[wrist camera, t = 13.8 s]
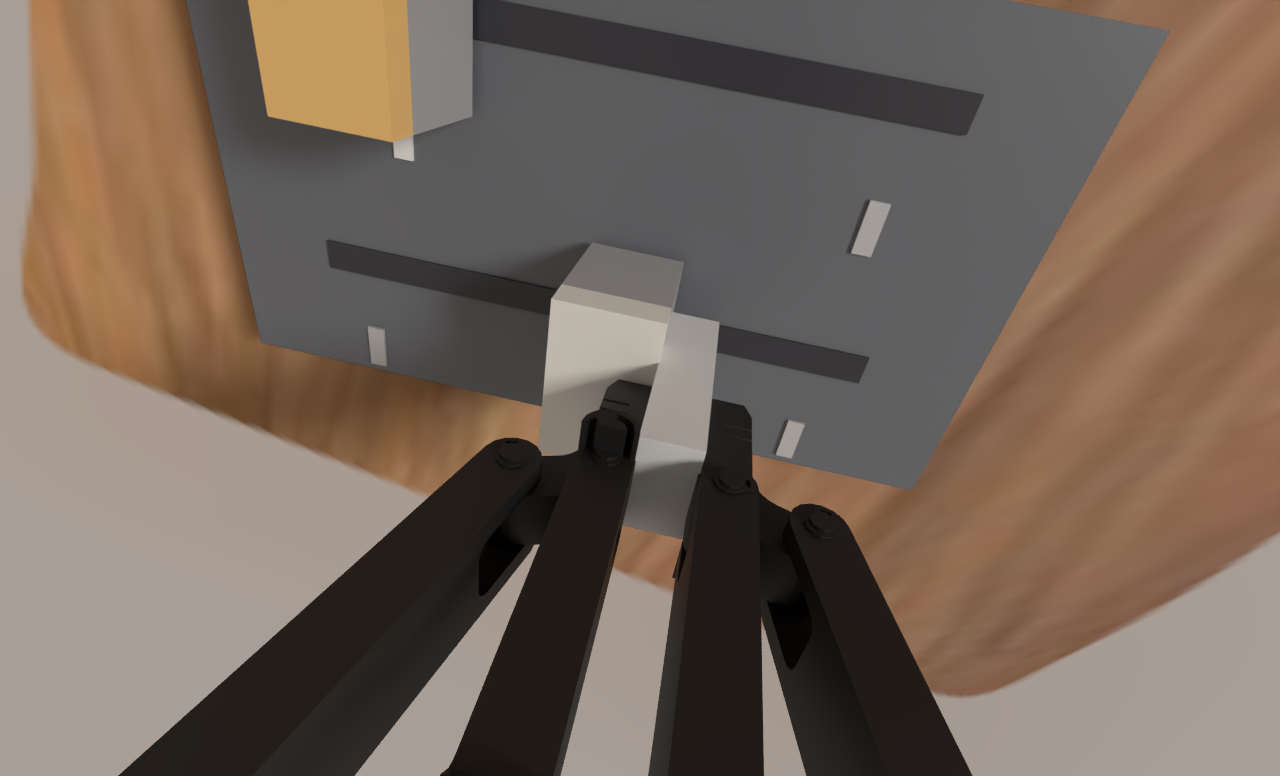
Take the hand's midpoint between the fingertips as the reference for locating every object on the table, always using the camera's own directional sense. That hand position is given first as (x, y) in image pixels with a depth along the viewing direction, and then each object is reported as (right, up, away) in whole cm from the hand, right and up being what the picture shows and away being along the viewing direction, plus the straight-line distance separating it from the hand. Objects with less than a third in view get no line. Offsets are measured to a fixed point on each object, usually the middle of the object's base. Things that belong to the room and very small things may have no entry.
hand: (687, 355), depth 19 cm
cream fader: (-2, +1, +1) cm, 3 cm away
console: (-2, +5, +2) cm, 6 cm away
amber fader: (-8, +9, -3) cm, 12 cm away
